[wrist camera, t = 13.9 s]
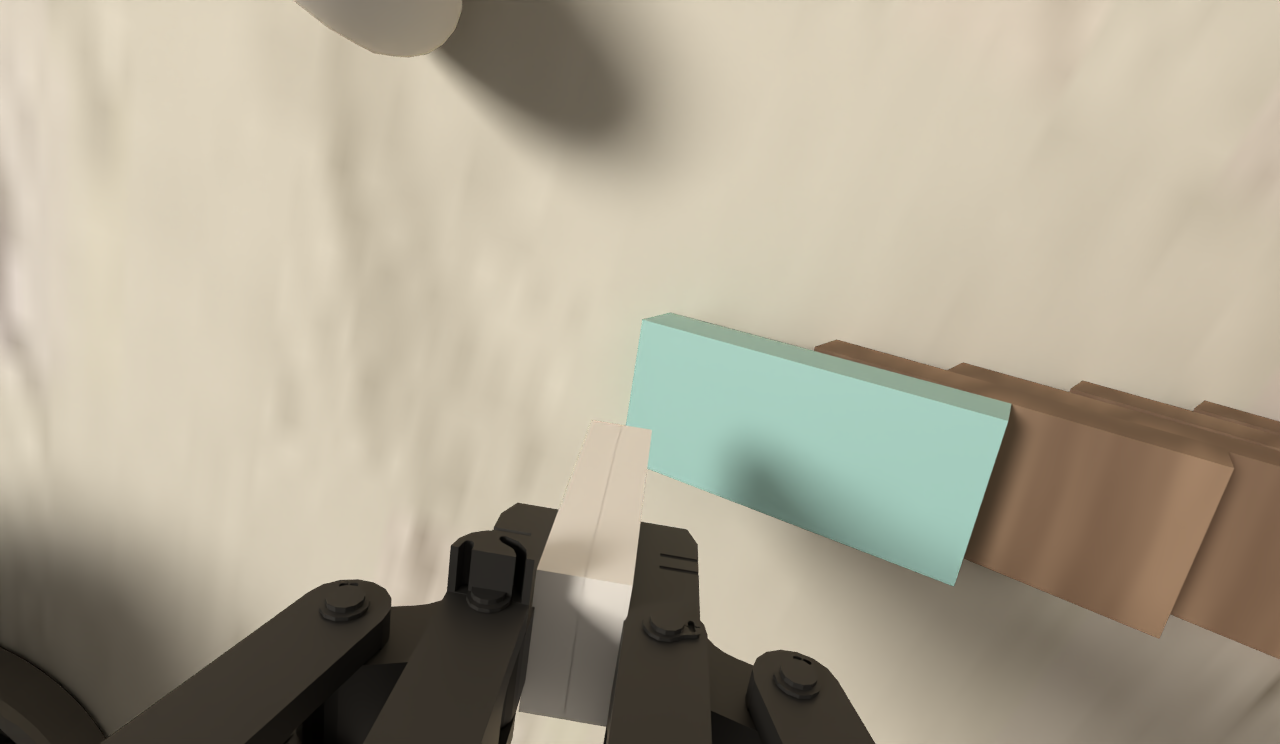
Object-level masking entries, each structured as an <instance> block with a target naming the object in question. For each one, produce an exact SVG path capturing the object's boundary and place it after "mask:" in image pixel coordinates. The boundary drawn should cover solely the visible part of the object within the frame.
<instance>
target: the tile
mask: <svg viewBox="0 0 1280 744" xmlns="http://www.w3.org/2000/svg"><path fill="white" fill-rule="evenodd" d="M1010 409H1011V403H1007V402H1003V401H999V400H996V399H992V398H988V397H984V396H981V395H977V394H973V393H969V392H966V391H962V390H958V389H954V388H951V387H947V386H943V385H939V384H936V383H932V382H928V381H924V380H921V379H917V378H913V377H909V376H906V375H902V374H898V373H894V372H891V371H887V370H883V369H879V368H876V367H872V366H868V365H864V364H861V363H857V362H853V361H849V360H846V359H842V358H838V357H834V356H831V355H827V354H823V353H819V352H816V351H812V350H808V349H804V348H801V347H797V346H793V345H790V344H786V343H782V342H778V341H775V340H771V339H767V338H763V337H760V336H756V335H752V334H748V333H745V332H741V331H737V330H733V329H730V328H726V327H722V326H718V325H715V324H711V323H707V322H703V321H700V320H696V319H692V318H688V317H685V316H681V315H677V314H673V313H667V314H663V315H659V316H655V317H651V318H647V319H643V320H642V326H641V333H640V339H639V345H638V352H637V358H636V365H635V371H634V377H633V384H632V390H631V397H630V403H629V409H628V416H627V422H626V426H632V427H638V428H644V429H650V430H652V434H651V442H650V450H649V458H648V466H647V469H650V470H652V471H655V472H657V473H660V474H663V475H665V476H668V477H670V478H673V479H676V480H678V481H681V482H683V483H686V484H689V485H691V486H694V487H696V488H699V489H702V490H704V491H707V492H709V493H712V494H715V495H717V496H720V497H722V498H725V499H728V500H730V501H733V502H735V503H738V504H741V505H743V506H746V507H748V508H751V509H754V510H756V511H759V512H761V513H764V514H767V515H769V516H772V517H774V518H777V519H780V520H782V521H785V522H787V523H790V524H793V525H795V526H798V527H800V528H803V529H806V530H808V531H811V532H813V533H816V534H819V535H821V536H824V537H826V538H829V539H832V540H834V541H837V542H839V543H842V544H845V545H847V546H850V547H852V548H855V549H858V550H860V551H863V552H865V553H868V554H871V555H873V556H876V557H878V558H881V559H884V560H886V561H889V562H891V563H894V564H897V565H899V566H902V567H904V568H907V569H910V570H912V571H915V572H917V573H920V574H923V575H925V576H928V577H930V578H933V579H936V580H938V581H941V582H943V583H946V584H949V585H951V586H954V585H955V582H956V579H957V576H958V573H959V570H960V567H961V564H962V561H963V558H964V555H965V552H966V548H967V545H968V542H969V539H970V536H971V533H972V530H973V527H974V524H975V521H976V518H977V515H978V512H979V509H980V506H981V503H982V500H983V497H984V494H985V491H986V488H987V484H988V481H989V478H990V475H991V472H992V469H993V466H994V463H995V460H996V457H997V454H998V451H999V448H1000V445H1001V442H1002V439H1003V436H1004V433H1005V430H1006V427H1007V424H1008V420H1009V415H1010Z"/></svg>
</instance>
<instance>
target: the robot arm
mask: <svg viewBox="0 0 1280 744" xmlns="http://www.w3.org/2000/svg"><path fill="white" fill-rule="evenodd" d="M651 434H652V430H650V429H644V428H638V427H632V426H626V425H620V424H614V423H608V422H602V421H596V420H591V423H590V425H589V428H588V431H587V433H586V436H585V439H584V442H583V444H582V447H581V450H580V453H579V455H578V458H577V461H576V464H575V466H574V469H573V472H572V474H571V477H570V480H569V483H568V485H567V488H566V491H565V494H564V496H563V499H562V502H561V505H560V507H559V510H557V509H551V508H545V507H539V506H534V505H528V504H522V503H517V504H515V505H513V506H512V507H510V508H509V509H507V510H506V511H504V512H503V513H501V515H500V517H499V519H498V521H497V523H496V524H495V526H494V530H492V531H480V532H474V533H470V534H468V535H465V536H463V537H461V538H459V539H458V540H457V541H456V542H454V543H453V544H452V545H451V550H450V562H449V574H448V586H447V592H446V594H445V596H444V598H443V600H441V601H438V602H434V603H431V604H425V605H417V606H398V607H391V597H390V595H389V594H388V592H387V591H386V589H384V588H383V587H381V586H379V585H377V584H375V583H373V582H368V581H363V580H358V579H357V580H339V581H335V582H331V583H327V584H323V585H321V586H319V587H317V588H315V589H314V590H312V591H310V592H308V593H307V594H305V595H304V596H302V597H301V598H300V599H298V600H297V601H296V602H294V603H293V604H291V605H290V606H289V607H287V608H286V609H285V610H283V611H282V612H280V613H279V614H278V615H276V616H275V617H274V618H272V619H271V620H269V621H268V622H267V623H265V624H264V625H262V626H261V627H260V628H258V629H257V630H256V631H254V632H253V633H251V634H250V635H249V636H247V637H246V638H245V639H243V640H242V641H240V642H239V643H238V644H236V645H235V646H234V647H232V648H231V649H229V650H228V651H227V652H225V653H224V654H223V655H221V656H220V657H218V658H217V659H216V660H214V661H213V662H212V663H210V664H209V665H207V666H206V667H205V668H203V669H202V670H200V671H199V672H198V673H196V674H195V675H194V676H192V677H191V678H189V679H188V680H187V681H185V682H184V683H183V684H181V685H180V686H178V687H177V688H176V689H174V690H173V691H172V692H170V693H169V694H167V695H166V696H165V697H163V698H162V699H161V700H159V701H158V702H156V703H155V704H154V705H152V706H151V707H150V708H148V709H147V710H145V711H144V712H143V713H141V714H140V715H139V716H137V717H136V718H134V719H133V720H132V721H130V722H129V723H127V724H126V725H125V726H123V727H122V728H121V729H119V730H118V731H116V732H115V733H114V734H112V735H111V736H110V737H108V738H107V739H105V738H104V736H103V734H102V733H101V731H100V730H99V728H98V727H97V725H96V724H95V722H94V721H93V720H92V718H91V717H90V716H89V715H88V713H87V712H86V711H85V710H84V709H83V708H82V706H81V705H80V704H79V703H78V702H77V701H76V700H75V699H74V698H73V697H72V696H71V695H70V694H69V693H68V692H67V691H66V690H64V689H63V688H62V687H61V686H60V685H59V684H58V683H56V682H55V681H54V680H53V679H51V678H50V677H49V676H47V675H46V674H45V673H43V672H42V671H41V670H39V669H38V668H36V667H35V666H33V665H32V664H30V663H28V662H27V661H25V660H23V659H22V658H20V657H18V656H16V655H14V654H12V653H10V652H9V651H7V650H5V649H2V648H0V744H511V741H512V737H513V730H514V722H515V714H516V709H517V706H518V703H519V700H520V706H519V712H525V713H530V714H536V715H542V716H548V717H553V718H559V719H565V720H571V721H576V722H582V723H588V724H594V725H600V726H605V727H606V732H605V738H604V744H875V742H874V741H873V739H872V737H871V736H870V734H869V732H868V731H867V729H866V727H865V726H864V724H863V722H862V721H861V719H860V717H859V716H858V714H857V712H856V711H855V709H854V707H853V706H852V704H851V702H850V700H849V699H848V697H847V695H846V694H845V692H844V690H843V689H842V687H841V685H840V684H839V682H838V680H837V679H836V678H835V677H834V676H833V675H832V673H831V672H830V671H829V670H828V669H827V668H826V667H824V666H823V665H821V664H820V663H819V662H817V661H816V660H814V659H813V658H810V657H808V656H805V655H802V654H800V653H797V652H792V651H785V650H777V651H770V652H766V653H764V654H763V655H761V656H760V657H758V658H757V659H756V661H755V663H754V666H753V665H751V664H748V663H746V662H743V661H741V660H738V659H736V658H734V657H732V656H730V655H728V654H726V653H724V652H723V651H721V650H720V649H719V648H717V647H716V646H714V645H713V644H712V642H711V641H710V640H709V639H708V638H707V633H706V630H705V627H704V624H703V623H702V622H701V621H700V606H699V575H698V544H697V543H696V542H695V540H694V539H693V537H692V536H691V534H690V533H689V532H688V530H686V529H680V528H675V527H669V526H663V525H657V524H651V523H645V522H641V515H642V507H643V499H644V491H645V483H646V475H647V466H648V458H649V450H650V442H651ZM520 696H521V698H520Z"/></svg>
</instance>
